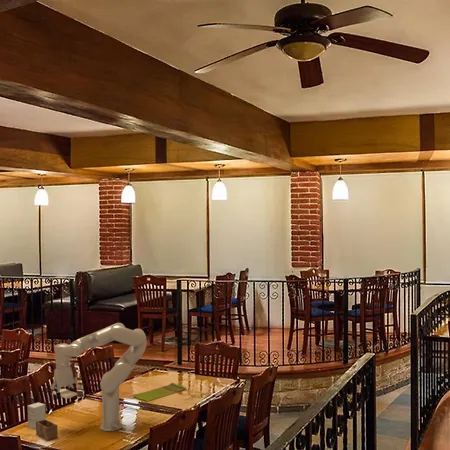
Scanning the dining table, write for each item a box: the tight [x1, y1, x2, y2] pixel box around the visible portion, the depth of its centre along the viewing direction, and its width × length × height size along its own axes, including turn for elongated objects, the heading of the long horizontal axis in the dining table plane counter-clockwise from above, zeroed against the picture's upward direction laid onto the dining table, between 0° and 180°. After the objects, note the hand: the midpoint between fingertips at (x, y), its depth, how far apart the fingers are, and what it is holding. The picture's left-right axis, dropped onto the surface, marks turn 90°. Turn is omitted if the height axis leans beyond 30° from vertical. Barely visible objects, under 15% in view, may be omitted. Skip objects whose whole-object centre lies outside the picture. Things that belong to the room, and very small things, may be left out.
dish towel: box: [132, 382, 187, 403], centre depth 384 cm, size 15×36×3 cm, turn 137°
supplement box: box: [27, 401, 47, 430], centre depth 326 cm, size 7×7×13 cm
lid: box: [52, 388, 78, 399], centre depth 317 cm, size 15×7×2 cm, turn 44°
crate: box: [35, 419, 59, 442], centre depth 310 cm, size 14×6×7 cm, turn 42°
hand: (65, 397), depth 317 cm, fingers closed on lid, 7 cm apart
